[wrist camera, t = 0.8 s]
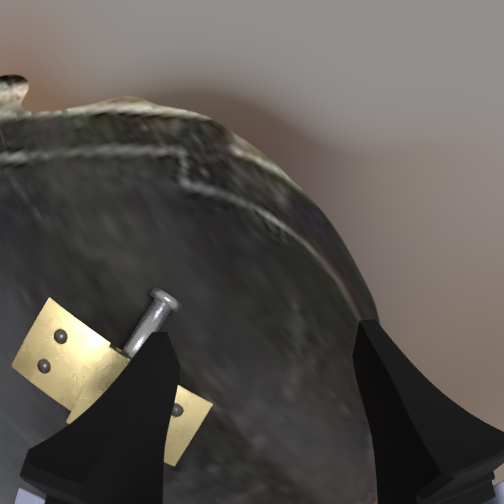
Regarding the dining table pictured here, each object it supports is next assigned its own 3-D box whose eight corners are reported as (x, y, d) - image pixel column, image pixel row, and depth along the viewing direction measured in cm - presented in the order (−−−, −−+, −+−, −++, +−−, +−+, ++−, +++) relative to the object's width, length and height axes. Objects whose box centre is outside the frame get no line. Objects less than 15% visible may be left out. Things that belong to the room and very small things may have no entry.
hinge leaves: (173, 463, 22) (180, 481, 19) (13, 364, 19) (-1, 371, 16) (211, 402, 25) (223, 413, 22) (51, 297, 21) (40, 295, 18)
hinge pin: (125, 393, 22) (125, 402, 20) (98, 376, 21) (95, 382, 19) (179, 306, 25) (184, 305, 23) (152, 288, 25) (155, 285, 22)
